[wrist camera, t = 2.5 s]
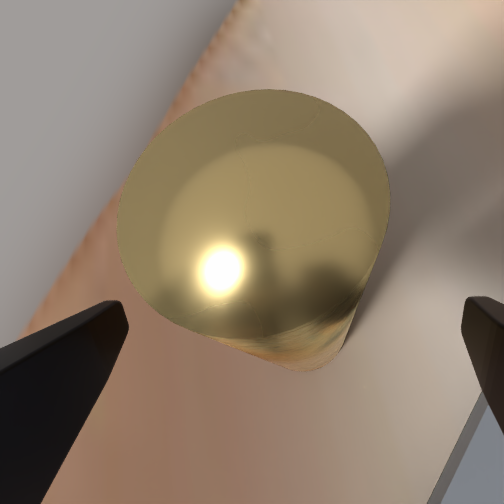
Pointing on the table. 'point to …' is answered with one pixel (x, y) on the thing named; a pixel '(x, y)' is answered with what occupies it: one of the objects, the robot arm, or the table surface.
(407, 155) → the table surface
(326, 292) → the brass shaft
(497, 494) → the grey square base plate
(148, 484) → the table surface
